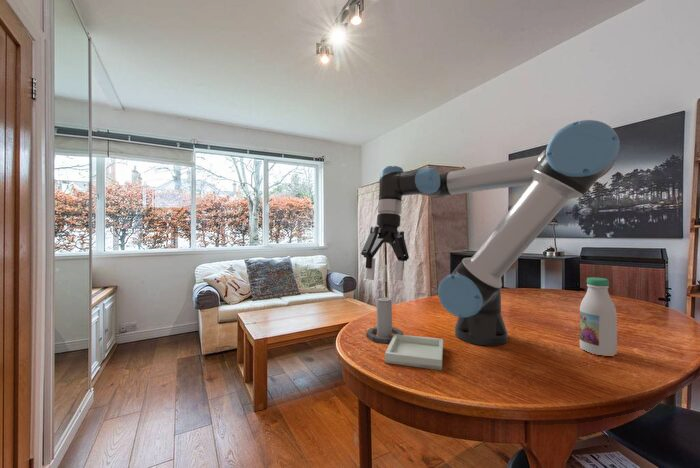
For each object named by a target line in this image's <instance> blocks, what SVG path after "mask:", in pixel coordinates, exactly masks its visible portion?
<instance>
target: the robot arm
mask: <svg viewBox="0 0 700 468" xmlns="http://www.w3.org/2000/svg"><path fill="white" fill-rule="evenodd" d="M620 143H621V141H620V137H619V136H618V134H617V132H616V131H615V130H614V129H613V128H612V127H611V126H610V125H609V124H607V123H605V122H603V121H599V120H592V119H585V120H578V121H575V122H571V123H569V124H567V125H565V126H563V127H562V128H560V129H559V130H558V131H557V132H555V133H554V135H553V136H552V137H551V139H550V140H549V142H548V144H547V146H546V148H545V150H543V151H542V152H541V153H540V154H537V155H533V156H528V157H523V158H516V159H512V160H511V159H510V160H505V161H500V162H495V163H490V164H486V165H480V166H474V167H469V168H468V167H467V168H462V169H458V170H453V171H452V170H451V171H448V172H443V173H439V171H438V169H437V168H436V167H423V168H418V169H413V170H407V171H404V169H403V167H400V166H397V165H387V166H386V165H385V166H384V167H383V168H381V169H380V174H379V179H378V182H379V183H378V184H379V186H378V187H379V191H378V204H377V213H378V214H377V216H376V226H374V225H373V226H370V231H369V234H368V237H367V239H366V241H365V243H364V246H363V248H362V250H361V253H360V254H361V255H362V256H363V258H366V259H365V268H366V270H365V271H366V274H365V280H369V281H374V280H375V273H376V272H375V271H376V270H375V268H376V258H374V257H375V255H376V254H377V253H378V251H379V250H380V248H381V247H382V245H383V244H384V243H386V244H389V245H390V246H391V247H392V250H393V252H394V254H395V256H396V260H395V267H394V268H395V270H394V280H395V281H403V280H404V279H403V277H404V269H405V268H404V267H405V262H407V261H408V260H409V259H410V257H409V253H408V248H407V244H406V240H405V232H404V231H401V230H399V231H398V229H399V227H401V215H400V214H401V213H402V198H403V196H413V195H415V196H416V195H421V196H426V197H432V198H436V199H437V198H438V199H440V198H446V197H447V196H451V195H459V194H461V195H462V194H468V193H475V192H481V191H489V190H497V189H499V190H500V189H506V188H512V187H519V186H521V187H522V186H527V185H528V186H527V187H526V188H525V190H523V192H522V194H521V195H520V196H519V197H518V199H517V200H516V201H515V202H514V204H513V205H511V208H509V210H508V211H507V212H506V214H505V215H504V216H503V218H502V219H501V220H500V221H499V222H498V224H497V225H496V226H495V227H494V229H493V230H492V232H491V233H490V234H489V235H488V237H486V239H485V240H484V242H483V243H482V244H481V245H480V246H479V248H478V249H477V250H476V252H475V253H474V254H473V256H471V257H464V258H463V259H461V261H460V262H459V264H458V265H457V266H456V267H455V269H454V270H453V271H452V273H449V274H447V275H446V276H445V277H443V278H442V279H441V280H440V283H439V285H438V289H437V295H438V298H439V299H438V300H439V302H440V304H441V305H442V307H443V308H444V309H445V310H446V311H447V312H448V313H450V314H452V315H453V316H455V317H457V320H456V323H455V326H454V334H455V336H456V338H458V339H460V340H461V341H463V342H467V343H470V344H473V345H474V344H475V345H478V346H488V347H489V346H490V347H491V346H500V345H504V344H506V343H507V342H508V341H509V336H508V330H507V326H506V324H505V322H504V319H503V316H502V287H503V283H502V277H503V276H504V275H505V273H506V272H507V271H508V270H509V269H510V268H511V267H512V266H513V264H514V263H515V262H516V261H517V260H518V259H519V258H520V256H521V255H522V254H523V253H524V252H525V251H526V250H527V248H528V247H530V245H531V244H532V243H533V242H534V241H535V239H537V237H538V236H539V235H540V234H541V233H542V232H543V231H544V229H545V228H546V227H547V225H549V224H550V222H552V220H553V219H554V218H555V217H556V216H557V214H558V213H559V212H560V211H561V210H562V209H563V208H564V207H565V205H566V204H567V203H568V201H570V200H571V199H576V198H581V197H584V195H585V194H586V193H587V192H588V191H589V190H590V189H591V187H592V186H594V184H595V183H596V182H597V181H598V180H599V179H600V178H602V177H604V176H605V175H607V174H608V173H609V171H610V170H611V169H612V168H613V167H614V164H615V162H616V158H617V157H618V155H619V152H620V150H621V144H620Z"/></svg>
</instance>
